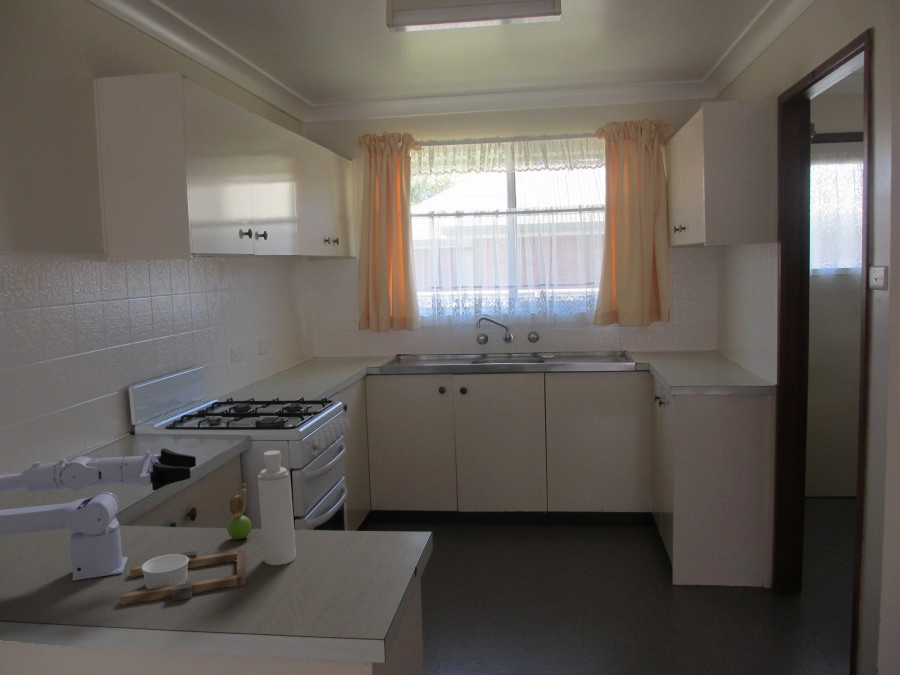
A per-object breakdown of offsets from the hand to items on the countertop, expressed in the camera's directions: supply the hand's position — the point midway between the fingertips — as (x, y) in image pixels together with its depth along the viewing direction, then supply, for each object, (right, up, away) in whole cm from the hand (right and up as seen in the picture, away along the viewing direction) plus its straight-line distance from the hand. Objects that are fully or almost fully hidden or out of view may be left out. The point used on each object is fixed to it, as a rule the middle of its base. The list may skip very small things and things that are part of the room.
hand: (193, 467), depth 154 cm
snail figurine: (+7, -19, +13) cm, 24 cm away
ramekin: (-2, -22, -9) cm, 24 cm away
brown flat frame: (+1, -21, -8) cm, 23 cm away
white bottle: (+19, -20, 0) cm, 27 cm away
